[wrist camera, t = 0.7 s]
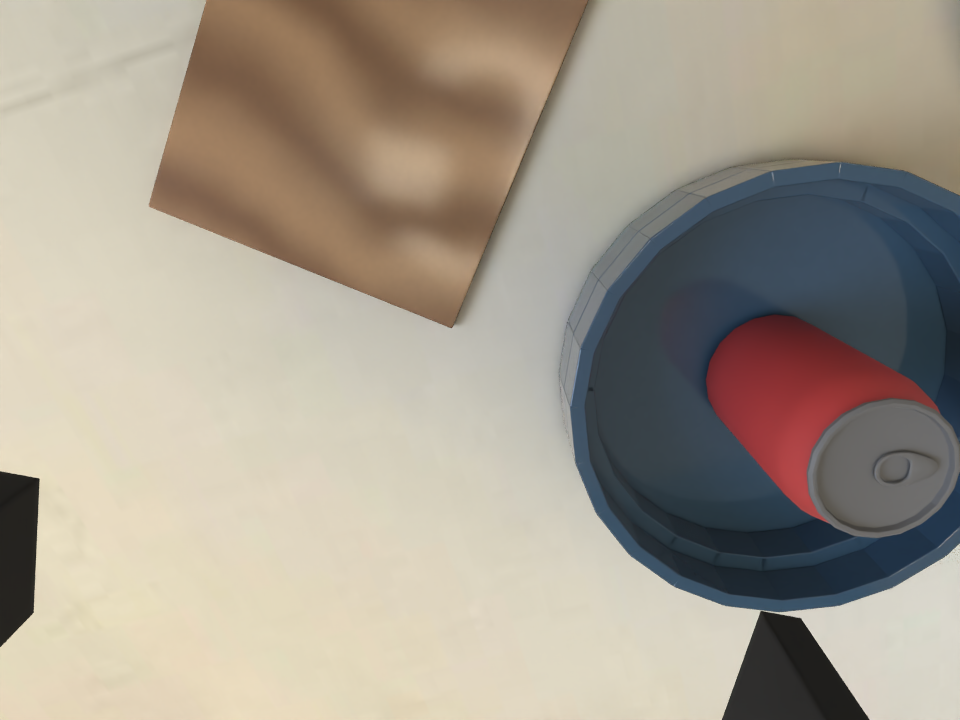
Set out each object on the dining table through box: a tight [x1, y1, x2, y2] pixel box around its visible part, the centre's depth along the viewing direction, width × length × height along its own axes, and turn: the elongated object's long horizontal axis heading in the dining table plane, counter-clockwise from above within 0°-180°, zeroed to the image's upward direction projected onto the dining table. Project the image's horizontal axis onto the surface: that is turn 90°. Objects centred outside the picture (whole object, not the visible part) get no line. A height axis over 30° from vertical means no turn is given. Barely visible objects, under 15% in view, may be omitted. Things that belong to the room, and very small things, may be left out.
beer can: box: [706, 315, 960, 538], centre depth 33 cm, size 7×7×12 cm
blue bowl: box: [559, 159, 960, 612], centre depth 36 cm, size 21×21×6 cm
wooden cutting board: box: [149, 0, 589, 328], centre depth 34 cm, size 22×16×1 cm
